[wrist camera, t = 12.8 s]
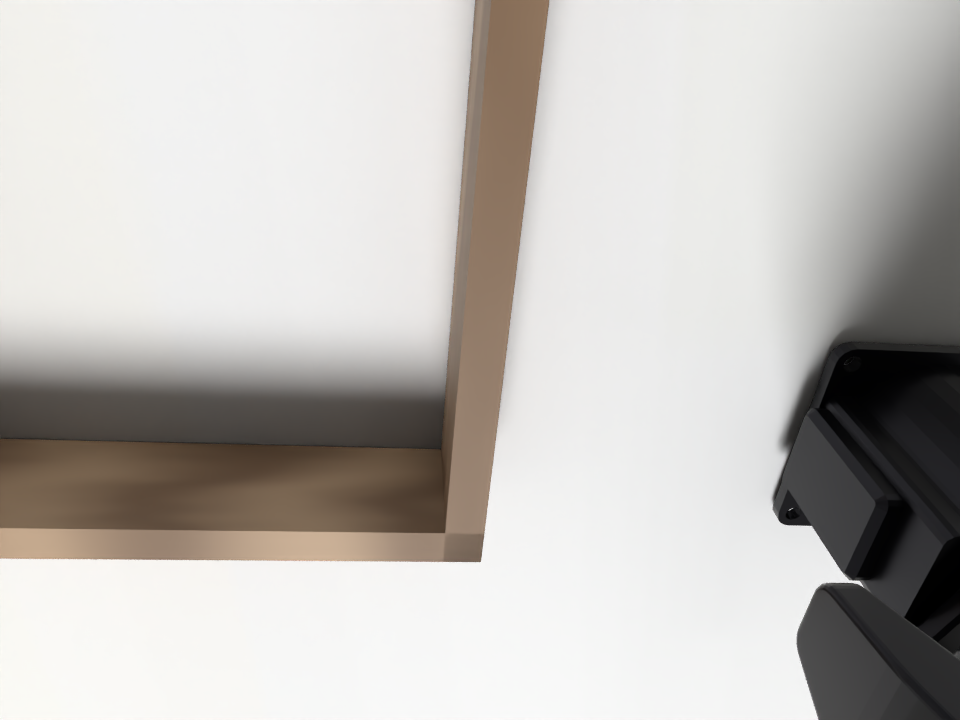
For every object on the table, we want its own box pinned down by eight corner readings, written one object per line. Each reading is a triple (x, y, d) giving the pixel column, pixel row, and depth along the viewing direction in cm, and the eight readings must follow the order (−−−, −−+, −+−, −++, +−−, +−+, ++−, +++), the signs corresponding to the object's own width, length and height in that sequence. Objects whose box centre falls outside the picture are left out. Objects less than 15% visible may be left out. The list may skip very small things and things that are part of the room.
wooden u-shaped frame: (579, -540, 12) (633, -692, 9) (471, 476, 23) (480, 561, 20) (-557, -736, 10) (-958, -1005, 7) (-98, 464, 21) (-184, 557, 18)
